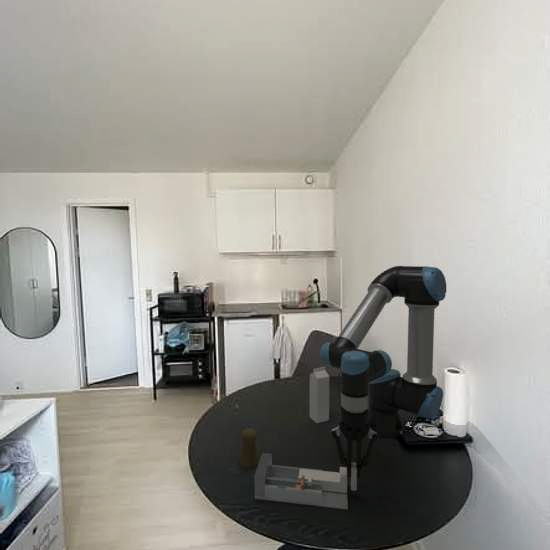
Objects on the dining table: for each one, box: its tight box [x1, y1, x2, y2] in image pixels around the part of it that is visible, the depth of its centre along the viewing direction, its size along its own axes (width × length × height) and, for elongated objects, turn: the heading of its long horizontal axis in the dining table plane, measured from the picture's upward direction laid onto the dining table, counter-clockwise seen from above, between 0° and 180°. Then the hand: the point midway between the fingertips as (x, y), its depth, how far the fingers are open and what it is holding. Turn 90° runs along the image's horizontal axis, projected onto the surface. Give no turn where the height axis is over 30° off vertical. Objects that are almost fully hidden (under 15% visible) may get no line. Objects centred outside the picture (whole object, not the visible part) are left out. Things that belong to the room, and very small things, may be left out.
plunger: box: [298, 466, 348, 494], centre depth 100 cm, size 14×7×5 cm, turn 80°
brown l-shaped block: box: [296, 475, 305, 489], centre depth 97 cm, size 2×4×5 cm, turn 170°
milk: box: [309, 366, 330, 424], centre depth 144 cm, size 6×6×22 cm
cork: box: [239, 428, 259, 469], centre depth 114 cm, size 6×6×11 cm
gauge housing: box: [254, 452, 349, 510], centre depth 101 cm, size 26×11×7 cm, turn 80°
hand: (353, 487), depth 98 cm, fingers closed
